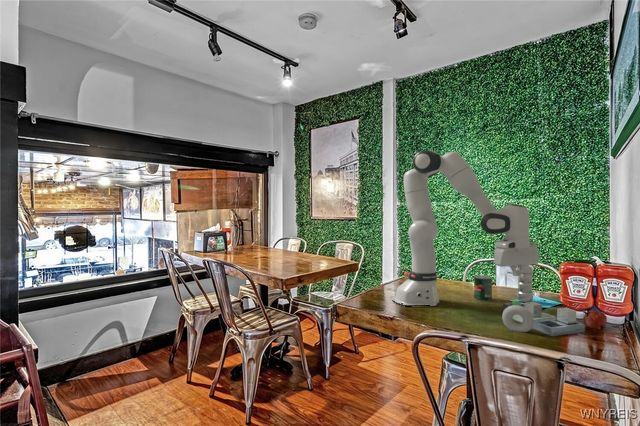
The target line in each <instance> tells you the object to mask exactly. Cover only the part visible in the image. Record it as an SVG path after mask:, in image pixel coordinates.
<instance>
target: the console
mask: <svg viewBox="0 0 640 426" xmlns="http://www.w3.org/2000/svg"><path fill="white" fill-rule="evenodd" d="M509 306H512V301H510V302H504V303H502V311H504V310H505V309H506V308H507V307H509ZM521 306H522V307H524V308H525V303H524V304H523V303H521Z"/></svg>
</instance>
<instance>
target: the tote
mask: <svg viewBox="0 0 640 426" xmlns="http://www.w3.org/2000/svg"><path fill="white" fill-rule="evenodd" d="M512 319H513V321H517V322H519V323H522V322H523V318H522V317H521V316H520V315H514V316H513V318H512ZM549 319H557V316H555V315H552V314H549V313H546V312H543V311H542V318H535V319H534V321H541V320H549Z"/></svg>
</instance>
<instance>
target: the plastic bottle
mask: <svg viewBox="0 0 640 426" xmlns="http://www.w3.org/2000/svg"><path fill="white" fill-rule="evenodd" d="M533 275H534V270H533V268H532V266H531V264H530V265H524V269H523V270H522V275H521V276H517V280H518V283H517V284H518V287H517V291H516V297H517V298H516V299H517V301H521V302H523V303H525V302H533V301H534V293H533V288H532V287H533V285H532V283H533V281H532V280H533Z"/></svg>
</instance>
